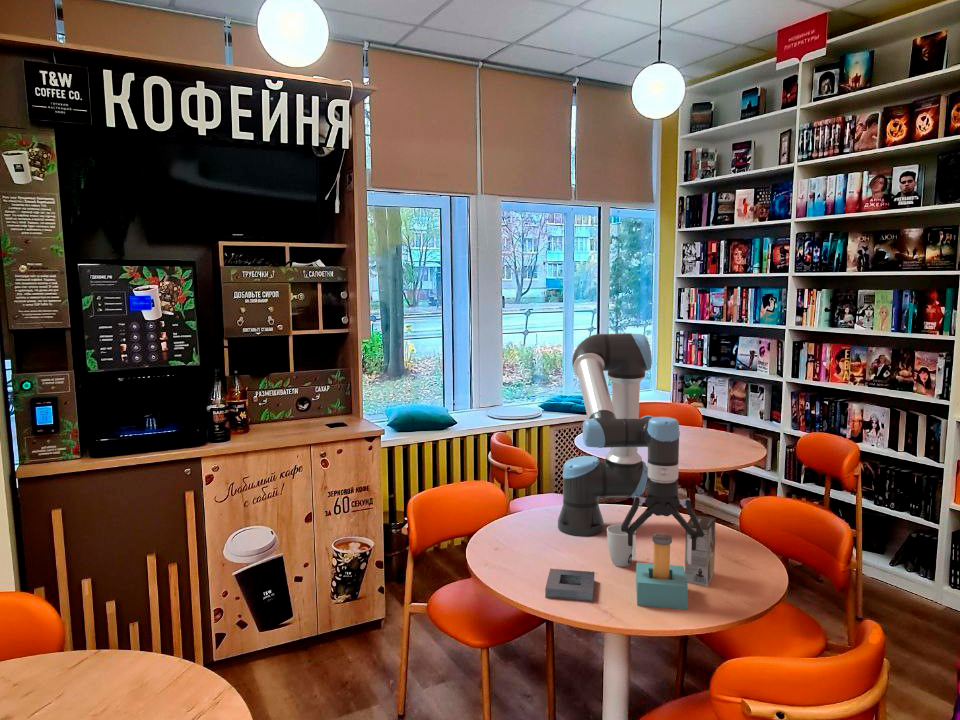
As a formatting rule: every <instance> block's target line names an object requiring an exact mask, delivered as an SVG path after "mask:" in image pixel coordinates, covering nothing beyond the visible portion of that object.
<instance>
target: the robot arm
mask: <svg viewBox="0 0 960 720" xmlns="http://www.w3.org/2000/svg"><path fill="white" fill-rule="evenodd" d="M652 357H653V356H652V350H651V346H650V342H649V340H648V338H647V336H645V335H644V334H641V333H632V332H630V333H629V332H626V333H596V334H593V335H589V336H588V337H586V338H585V339H583V340H581V342H580V343H579V344H578V346H577V347H576V348H575V350H574V352H573V355H572V359H571V360H572V363H571V364H572V369H573V372H574V374H575V376H576V377H578V381H579V385H580V391H581V395H582V400H583V403H584V407H585V412H586V416H587V417H586V418H587V419H585V420H583V421H582V441H583V444H584V445H585V446H586V447H588V448H598V449H603V448H610V449H609V450H610V451H609V452H608V453H606V455H605V460H604V461H600V459H599V458H598V457H597V456H594V455H591V456H590V455H581V456H577V457H575V456H574V457H572V458H570V459H567V460H566V461H565V463H564V464H563V467H562V468H563V469H562V478H563V479H562V481H563V482H562V483H563V484H562V487H563V489H562V501H563V502H562V507H561V510H560V513H559V515H558V519H557V528H558V530H560V531H561V532H563V533H565V534H567V535H572V536H577V537H579V536H581V537H589V536H596V535H598V534H600V533H602V532H603V531H604V530H605V522H604V518H603V515H602V511H601V509H600V506H599V504H600V503H599V502H600V501H599V499H600V498H628V499H630V498H634V499H633V503H632V505H631V507H630V509H629V510H628V513H627V514H626V516H625V518H624V520H623V521H622V523H621V524H620V525H621V531H622V532H626V533H627V534H628V545H629V546H632V559H631V560H633V561H636V557H637V555H636V554H637V553H636V552H637V551H636V550H637V549H636V548H637V547H636V545H637V544H636V543H637V540H636V539H637V534H636V532H637V530H638V529H640V527H641V526H642V525H643V524H644V523H645V522H646V521H647V520H648V519H649V518H650V517H652V516H653V515H655V516H657V517H661V516H664V517H670V516H672V517H673V518H674V519H675V520H676V521H677V522H678V523H679V524H680V526H682V528H683V529H684V530H685V532H686V531H687V533H688V534H689V535H688V537H687V562H688V564H691V550H696V539H697V538H698V537H703V536H704V532H703V530H702V528H701V526H700V524H699V522H698V520H697V518H696V516H697V515H696V513H695V511H694V510H693V508H692V502H691V498H690V497H685V498H681V499H680V498H679V481H678V479H679V457H680V456H679V455H680V435H681V432H680V421H678V419H676V418H674V417H673V418H672V417H670V416H653V415H644V416H641V417H640V418H639V415H640V389H641V386H640V384H641V381H642V380H643V379H645V377H646V372H648V371H650V370H651V369H652V366H653V365H652V364H653V358H652ZM604 371H605V372H606V371H607V377H608V378H609V379H610V380H611V382H612V386H611V388H612V392H611V395H610V391H609V387H608V384H607V383H608V382H607V381H606V377H605V374H604ZM638 448H647V463H646V462H645V461H643V458H642V455H640V454H639V453H638ZM645 490H646V496H645V497H644V496H642V495H643V493H644V492H645ZM644 503H645V504H646V506H647V507H646V508H645V510H644V511H643V512H642V513H641V514H640V515H639V516H638V517H637V518H636V520H634V521H633V522H632V520H633V518H634V517H635V514H636V513H637V511H638V510H639V507H640V506H643V504H644ZM680 505H681V506H682V508H684V509H686V512H687V514H688V516H689V519H690V518H691V520H692V522H693V524H694V526H695V528H696V531H694V530H693V529H692V528H691V526H690V525H689V524H688V521H687V520H686V519H685V518H684V517H683V516H682V514H681V513H680V512H679V510H678V509H677V508H679V506H680ZM631 522H632V524H631ZM630 524H631V525H630ZM628 526H630V527H628ZM635 531H636V532H635Z"/></svg>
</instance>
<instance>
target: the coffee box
mask: <svg viewBox="0 0 960 720" xmlns="http://www.w3.org/2000/svg"><path fill="white" fill-rule="evenodd" d="M695 516H696V518H697V520H698V522H699V524H700V526H701V528H702V530H703V532H704V536H703V537H698V538H697V539H696V550H691V564H688V562H687V537H688V535H689V534H688V533H687V531H686V530H685V538H684V539H685V544H684V545H685V546H684V547H685V548H684V552H685V553H684V554H685V555H684V572H685V576H686V581H687V584H688V583H689V584H693V585H694V584H695V585H698V586H705V587H709V585H710V583H711V581H712V579H713V577H714V575H715V555H716V554H715V553H716V549H715V548H716V521H717V520H716V517H709V516H702V515H695ZM687 523H688V524H689V525H690V526H691V528H692V529H693V530H694V531H696V528H695V526H694V524H693V522H692V520H691V518H690V517H689V519H688V521H687Z"/></svg>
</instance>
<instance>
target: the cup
mask: <svg viewBox="0 0 960 720" xmlns="http://www.w3.org/2000/svg"><path fill="white" fill-rule="evenodd" d="M621 525H622V524H613V525H609V526H608V527H606V541H607V546H608V547H607V548H608V553H609V557H610V560H611V561H610V562H612V565H614V566H616V567H621V568H624V567H629V566H630V565H631V562H632V560H633V559H632V546H629V545H628V534H627V533H626V532H622V531H621ZM630 526H631V525H629V526H628V527H630ZM635 532H637V530H636V531H635Z"/></svg>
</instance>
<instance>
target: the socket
mask: <svg viewBox="0 0 960 720" xmlns="http://www.w3.org/2000/svg"><path fill="white" fill-rule="evenodd" d="M635 564H636V566H635V567H636V568H635V569H636V571H635V574H636V575H635V586H636V587H635V588H636V589H635V591H636V606H641V607H650V608H651V607H652V608H665V609H676V610H688V595H689V594H688V592H689V589H688V588H689V586H688V585H689V584H688V582H687V581H686V576H685V566H684V565H671V564H670V567H669V580H667V579H654V578H653V563H646V562H645V563H644V562H636V563H635Z"/></svg>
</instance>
